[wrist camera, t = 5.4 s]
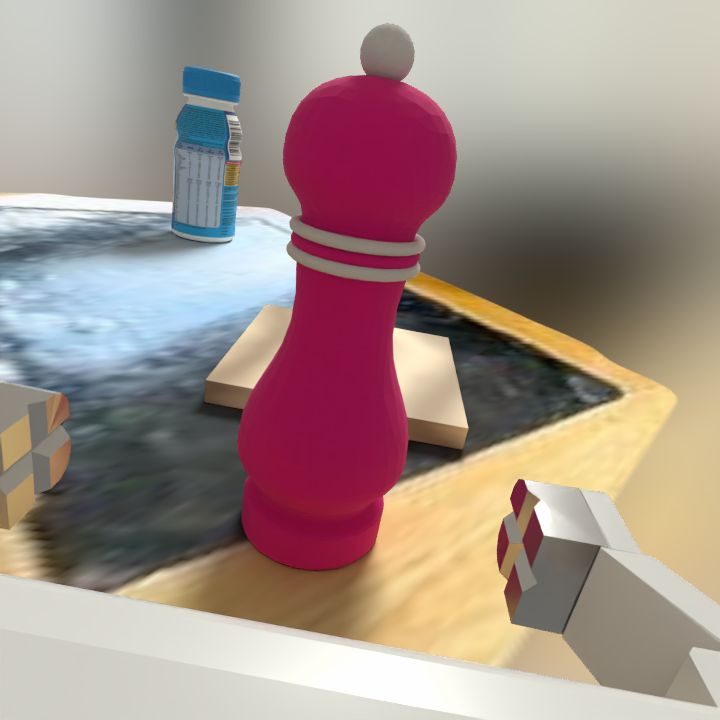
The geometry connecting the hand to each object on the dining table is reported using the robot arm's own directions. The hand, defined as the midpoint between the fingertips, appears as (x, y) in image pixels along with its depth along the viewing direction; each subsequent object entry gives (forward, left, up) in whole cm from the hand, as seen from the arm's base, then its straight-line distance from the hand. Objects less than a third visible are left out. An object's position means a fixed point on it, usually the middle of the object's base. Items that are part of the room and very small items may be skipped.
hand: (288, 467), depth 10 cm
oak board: (0, +29, -11) cm, 31 cm away
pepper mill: (0, +12, -11) cm, 17 cm away
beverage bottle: (-23, +65, -11) cm, 70 cm away
